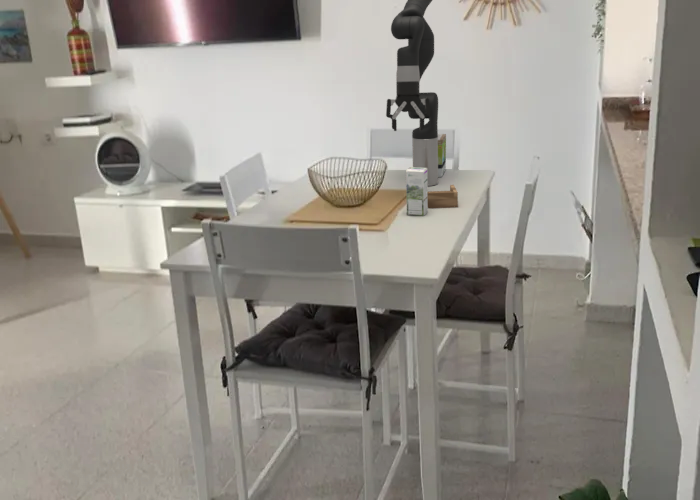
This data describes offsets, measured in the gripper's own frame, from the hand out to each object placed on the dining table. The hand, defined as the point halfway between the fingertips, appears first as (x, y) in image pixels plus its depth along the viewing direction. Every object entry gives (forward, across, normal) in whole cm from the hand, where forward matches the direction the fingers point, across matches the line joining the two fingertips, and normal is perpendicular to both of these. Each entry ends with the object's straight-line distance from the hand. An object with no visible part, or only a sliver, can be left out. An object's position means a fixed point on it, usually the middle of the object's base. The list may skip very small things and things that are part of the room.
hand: (408, 130), depth 247 cm
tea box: (+20, -14, -43) cm, 49 cm away
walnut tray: (+24, -10, +5) cm, 26 cm away
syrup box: (+25, -1, +16) cm, 30 cm away
